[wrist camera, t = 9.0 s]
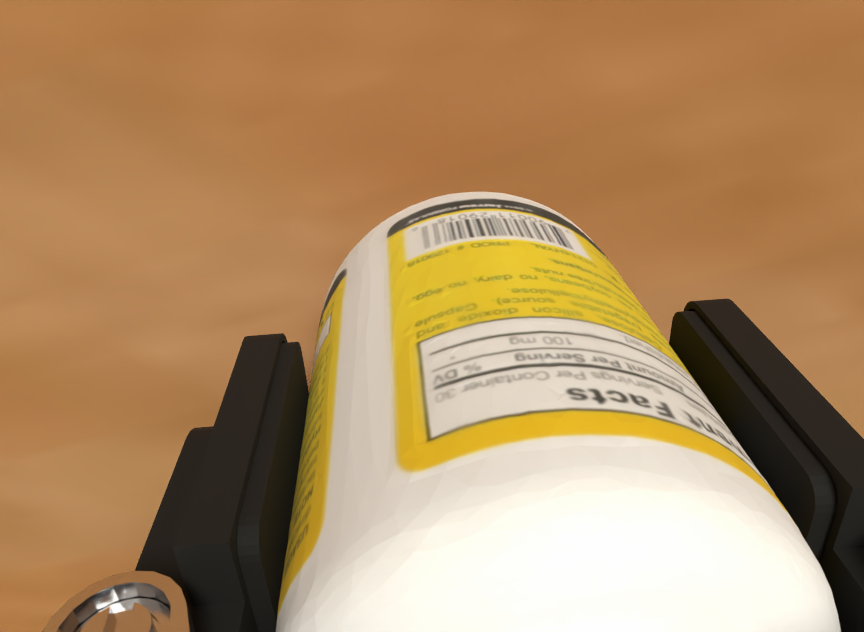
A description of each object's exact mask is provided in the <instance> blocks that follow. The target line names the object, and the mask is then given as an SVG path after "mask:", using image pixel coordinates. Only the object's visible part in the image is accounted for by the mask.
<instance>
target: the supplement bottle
mask: <svg viewBox="0 0 864 632" xmlns="http://www.w3.org/2000/svg"><path fill="white" fill-rule="evenodd" d="M276 632H841V628H840V623H839V618H838V613H837V609H836V605H835V602H834V598H833V594H832V590H831V588H830V586H829V583H828V581H827V579H826V577H825V574H824V572H823V570H822V568H821V566H820V564H819V562H818V561H817V559H816V557H815V556H814V554H813V552H812V551H811V549H810V547H809V546H808V544H807V542H806V541H805V539H804V538H803V536H802V534H801V532H800V530H799V528H798V527H797V525H796V524H795V522H794V521H793V519H792V518H791V516H790V515H789V513H788V512H787V510H786V509H785V507H784V506H783V504H782V503H781V502H780V501H779V499H778V498H777V497H776V495H775V493H774V492H773V490H772V489H771V487H770V486H769V484H768V483H767V481H766V480H765V478H764V477H763V476H762V475H761V473H760V472H759V471H758V470H757V468H756V467H755V465H754V464H753V463H752V461H751V460H750V458H749V457H748V455H747V454H746V452H745V451H744V450H743V448H742V447H741V445H740V444H739V443H738V441H737V440H736V439H735V437H734V436H733V434H732V433H731V432H730V430H729V429H728V427H727V426H726V424H725V423H724V422H723V420H722V419H721V417H720V416H719V414H718V413H717V412H716V410H715V409H714V407H713V406H712V404H711V403H710V402H709V400H708V399H707V397H706V396H705V395H704V393H703V392H702V390H701V389H700V387H699V386H698V385H697V383H696V382H695V380H694V379H693V377H692V376H691V375H690V373H689V372H688V370H687V369H686V367H685V366H684V365H683V363H682V362H681V360H680V359H679V358H678V356H677V355H676V353H675V352H674V351H673V349H672V348H671V346H670V345H669V344H668V342H667V341H666V339H665V338H664V337H663V335H662V334H661V332H660V331H659V329H658V328H657V327H656V325H655V324H654V323H653V321H652V320H651V318H650V317H649V315H648V314H647V312H646V311H645V310H644V309H643V307H642V306H641V304H640V303H639V301H638V300H637V298H636V297H635V296H634V294H633V293H632V292H631V290H630V289H629V288H628V286H627V285H626V283H625V282H624V280H623V279H622V277H621V276H620V275H619V273H618V272H617V270H616V269H615V268H614V266H613V265H612V264H611V262H610V261H609V260H608V258H607V257H606V256H605V254H604V253H603V252H602V251H601V250H600V249H599V248H598V246H597V245H596V244H595V243H594V242H593V241H592V240H591V239H590V238H589V237H588V236H587V235H586V234H585V233H584V232H583V231H582V230H581V229H580V228H579V227H578V226H576V225H575V224H574V223H573V222H572V221H570V220H569V219H567V218H566V217H564V216H563V215H561V214H560V213H558V212H556V211H554V210H552V209H550V208H548V207H546V206H545V205H542V204H540V203H537V202H534V201H531V200H529V199H525V198H521V197H518V196H514V195H509V194H505V193H494V192H465V193H455V194H448V195H444V196H439V197H434V198H431V199H429V200H426V201H423V202H420V203H417V204H415V205H412V206H410V207H408V208H406V209H404V210H402V211H400V212H398V213H396V214H395V215H393V216H391V217H389V218H388V219H386V220H384V221H383V222H382V223H380V224H379V225H378V226H376V227H375V228H374V229H372V230H371V231H370V232H369V233H368V234H367V235H366V236H365V237H364V238H363V239H362V240H361V241H360V242H359V243H358V244H357V245H356V246H355V247H354V248H353V249H352V251H351V252H350V253H349V254H348V256H347V257H346V259H345V260H344V262H343V263H342V264H341V266H340V267H339V269H338V271H337V273H336V274H335V276H334V278H333V281H332V283H331V285H330V287H329V290H328V293H327V296H326V299H325V302H324V306H323V311H322V315H321V319H320V324H319V329H318V335H317V341H316V348H315V356H314V363H313V370H312V378H311V385H310V391H309V398H308V404H307V412H306V420H305V427H304V434H303V441H302V446H301V452H300V461H299V469H298V475H297V482H296V489H295V495H294V502H293V508H292V517H291V522H290V528H289V537H288V544H287V551H286V556H285V563H284V570H283V576H282V583H281V590H280V597H279V604H278V614H277V624H276Z"/></svg>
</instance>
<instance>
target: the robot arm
mask: <svg viewBox="0 0 864 632" xmlns="http://www.w3.org/2000/svg"><path fill="white" fill-rule="evenodd" d="M669 345H670V346H671V348H672V349H673V351H674V352H675V353H676V355H677V356H678V358H679V359H680V360H681V362H682V363H683V365H684V366H685V367H686V369H687V370H688V372H689V373H690V375H691V376H692V377H693V379H694V380H695V382H696V383H697V385H698V386H699V387H700V389H701V390H702V392H703V393H704V395H705V396H706V397H707V399H708V400H709V402H710V403H711V404H712V406H713V407H714V409H715V410H716V412H717V413H718V414H719V416H720V417H721V419H722V420H723V422H724V423H725V424H726V426H727V427H728V429H729V430H730V432H731V433H732V434H733V436H734V437H735V439H736V440H737V441H738V443H739V444H740V445H741V447H742V448H743V450H744V451H745V452H746V454H747V455H748V457H749V458H750V460H751V461H752V463H753V464H754V465H755V467H756V468H757V470H758V471H759V472H760V473H761V475H762V476H763V477H764V478H765V480H766V481H767V483H768V484H769V486H770V487H771V489H772V490H773V492H774V493H775V495H776V497H777V498H778V499H779V501H780V502H781V503H782V504H783V506H784V507H785V509H786V510H787V512H788V513H789V515H790V516H791V518H792V519H793V521H794V522H795V524H796V525H797V527H798V528H799V530H800V532H801V534H802V536H803V538H804V539H805V541H806V542H807V544H808V546H809V547H810V549H811V551H812V552H813V554H814V556H815V557H816V559H817V561H818V562H819V564H820V566H821V568H822V570H823V572H824V574H825V577H826V579H827V581H828V583H829V586H830V588H831V590H832V594H833V598H834V602H835V605H836V609H837V613H838V618H839V623H840V628H841V632H864V439H863V438H862V437H861V436H860V435H859V434H858V433H857V432H856V431H855V430H854V429H853V428H852V426H851V425H850V424H849V423H848V422H847V421H846V420H845V419H844V418H843V417H842V416H841V415H840V414H839V413H838V412H837V411H836V410H835V409H834V408H833V406H832V405H831V404H830V403H829V402H828V401H827V400H826V399H825V398H824V397H823V396H822V395H821V394H820V393H819V392H818V391H817V390H816V389H815V388H814V387H813V385H812V384H811V383H810V382H809V381H808V380H807V379H806V378H805V377H804V376H803V375H802V374H801V373H800V372H799V371H798V370H797V369H796V368H795V367H794V365H793V364H792V363H791V362H790V361H789V360H788V359H787V358H786V357H785V356H784V355H783V354H782V353H781V352H780V351H779V350H778V349H777V348H776V347H775V345H774V344H773V343H772V342H771V341H770V340H769V339H768V338H767V337H766V336H765V335H764V334H763V333H762V332H761V331H760V330H759V329H758V328H757V327H756V325H755V324H754V323H753V322H752V321H751V320H750V319H749V318H748V317H747V316H746V315H745V314H744V313H743V312H742V311H741V310H740V309H739V308H738V307H737V306H736V304H735V303H734V302H733V301H731V300H730V299H716V300H703V301H690V302H689V303H687V305H686V306H685V308H684V311H683V312H677V313H675V315H674V317H673V321H672V327H671V334H670V342H669ZM308 398H309V391H308V386H307V380H306V374H305V368H304V363H303V357H302V351H301V347H300V344H299V342H290V343H287V340H286V337H285V335H284V334H283V333H282V334H269V335H257V336H246V337H245V338H244V340H243V342H242V345H241V348H240V351H239V354H238V357H237V360H236V363H235V366H234V369H233V371H232V374H231V377H230V380H229V383H228V386H227V389H226V392H225V395H224V398H223V401H222V404H221V407H220V410H219V412H218V415H217V418H216V421H215V424H214V426H213V427H201V428H194V429H192V430H191V431H190V432H189V434H188V436H187V438H186V440H185V443H184V445H183V448H182V450H181V453H180V456H179V458H178V461H177V463H176V466H175V469H174V471H173V474H172V476H171V479H170V481H169V484H168V487H167V489H166V492H165V494H164V497H163V499H162V502H161V505H160V507H159V510H158V512H157V515H156V517H155V520H154V523H153V525H152V528H151V530H150V533H149V536H148V538H147V541H146V543H145V546H144V548H143V551H142V554H141V556H140V559H139V561H138V564H137V566H136V569H135V571H131V572H126V573H121V574H117V575H112V576H110V577H108V578H105V579H103V580H101V581H98V582H96V583H94V584H92V585H90V586H88V587H87V588H85V589H84V590H82V591H81V592H79V593H78V594H76V595H75V596H73V597H72V598H70V599H69V600H68V601H67V602H66V603H65V604H64V605H63V606H62V607H61V608H60V609H59V610H58V611H57V612H56V613H55V614H54V615H53V616H52V617H51V619H50V620H49V622H48V623H47V625H46V626H45V628H44V629H43V631H42V632H276V624H277V614H278V604H279V597H280V590H281V583H282V576H283V570H284V563H285V556H286V551H287V544H288V537H289V528H290V522H291V517H292V508H293V502H294V495H295V489H296V482H297V475H298V469H299V461H300V452H301V446H302V441H303V434H304V427H305V420H306V412H307V404H308Z"/></svg>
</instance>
